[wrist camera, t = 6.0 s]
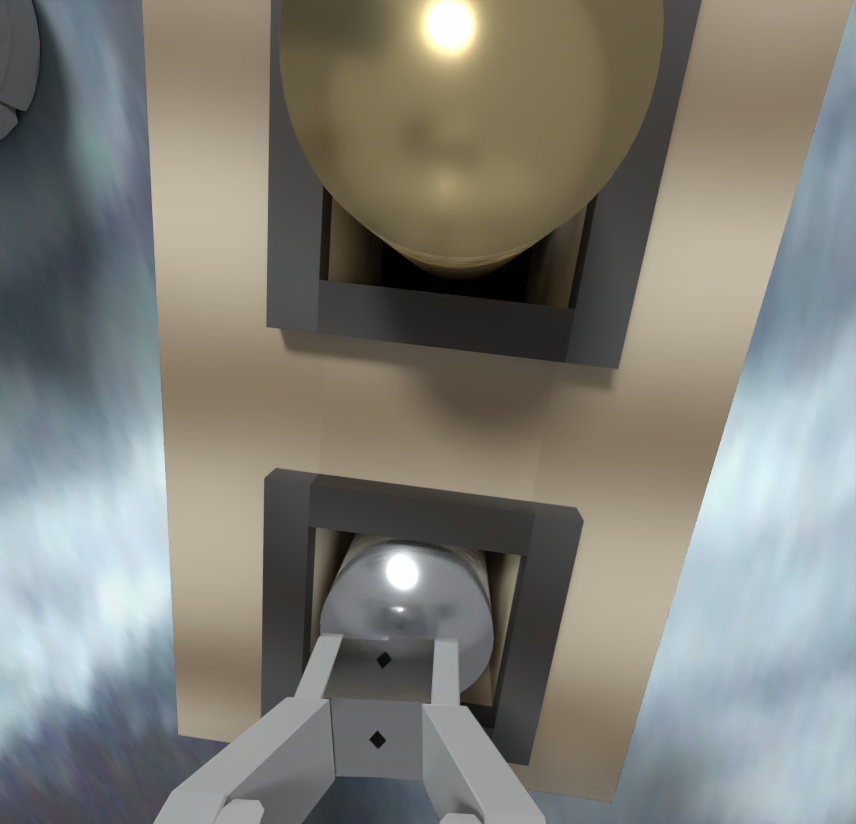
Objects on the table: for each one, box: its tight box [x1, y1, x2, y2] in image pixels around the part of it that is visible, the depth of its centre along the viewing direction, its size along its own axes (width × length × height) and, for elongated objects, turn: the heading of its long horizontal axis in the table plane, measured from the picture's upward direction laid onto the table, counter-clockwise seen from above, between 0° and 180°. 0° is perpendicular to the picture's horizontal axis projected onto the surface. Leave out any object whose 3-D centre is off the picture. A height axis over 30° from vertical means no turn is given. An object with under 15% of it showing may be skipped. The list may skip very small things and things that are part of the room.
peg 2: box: [320, 533, 494, 693], centre depth 13 cm, size 4×4×6 cm
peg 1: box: [279, 0, 664, 280], centre depth 8 cm, size 4×4×6 cm
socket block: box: [142, 0, 853, 802], centre depth 12 cm, size 20×12×7 cm, turn 174°
